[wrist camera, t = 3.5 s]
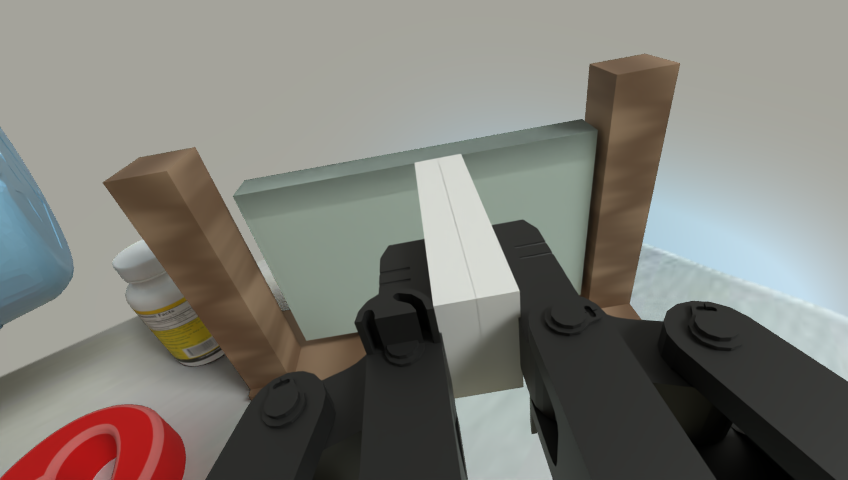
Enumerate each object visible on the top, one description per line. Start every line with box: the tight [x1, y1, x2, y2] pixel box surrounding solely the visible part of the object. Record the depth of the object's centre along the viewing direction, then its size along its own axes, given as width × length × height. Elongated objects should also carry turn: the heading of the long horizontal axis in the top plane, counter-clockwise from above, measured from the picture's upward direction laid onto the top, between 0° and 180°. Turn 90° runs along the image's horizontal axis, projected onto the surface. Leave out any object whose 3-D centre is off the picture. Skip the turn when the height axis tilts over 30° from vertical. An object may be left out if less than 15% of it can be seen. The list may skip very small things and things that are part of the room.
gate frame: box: [103, 54, 680, 401], centre depth 24 cm, size 27×8×17 cm, turn 94°
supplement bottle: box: [112, 239, 225, 366], centre depth 29 cm, size 5×5×10 cm
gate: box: [233, 119, 598, 341], centre depth 24 cm, size 20×2×12 cm, turn 94°
